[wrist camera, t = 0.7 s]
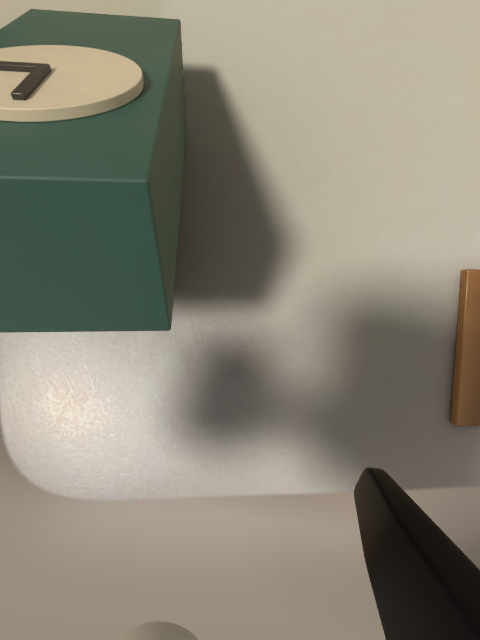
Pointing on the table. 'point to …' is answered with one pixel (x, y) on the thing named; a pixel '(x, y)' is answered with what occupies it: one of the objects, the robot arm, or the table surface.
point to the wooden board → (467, 353)
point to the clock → (90, 171)
